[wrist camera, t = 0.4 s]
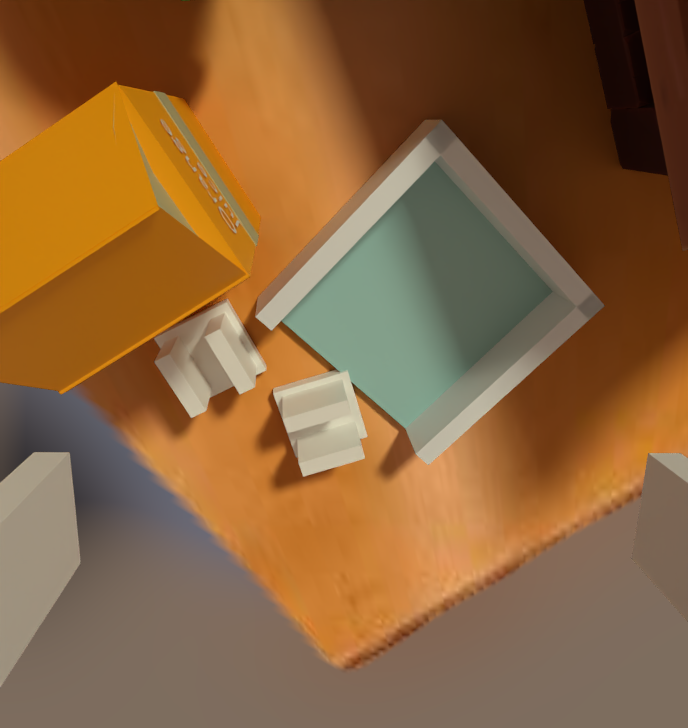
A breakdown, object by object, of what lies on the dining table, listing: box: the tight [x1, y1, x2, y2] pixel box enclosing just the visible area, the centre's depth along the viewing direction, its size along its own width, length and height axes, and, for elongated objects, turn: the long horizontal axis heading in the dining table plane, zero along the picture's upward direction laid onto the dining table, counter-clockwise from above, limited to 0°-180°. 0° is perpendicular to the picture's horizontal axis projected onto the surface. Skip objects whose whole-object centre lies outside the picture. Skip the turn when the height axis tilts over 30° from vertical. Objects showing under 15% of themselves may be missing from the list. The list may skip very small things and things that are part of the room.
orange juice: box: [0, 82, 261, 394], centre depth 26 cm, size 8×9×20 cm
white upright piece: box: [273, 370, 368, 477], centre depth 39 cm, size 5×5×4 cm
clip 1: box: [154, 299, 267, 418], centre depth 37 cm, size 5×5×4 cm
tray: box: [255, 120, 605, 465], centre depth 37 cm, size 14×14×4 cm
